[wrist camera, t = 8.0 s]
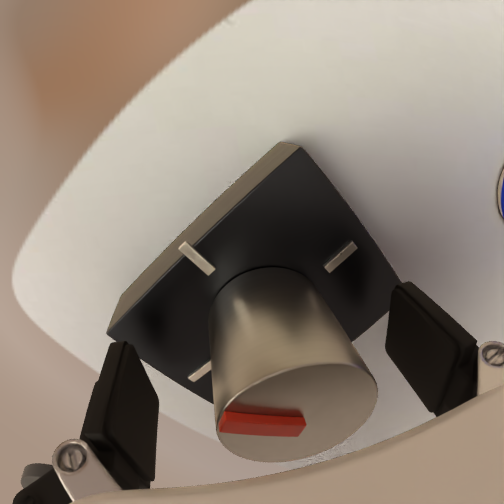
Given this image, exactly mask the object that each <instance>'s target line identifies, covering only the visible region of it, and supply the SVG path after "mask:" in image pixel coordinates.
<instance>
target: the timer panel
mask: <svg viewBox="0 0 504 504" xmlns="http://www.w3.org/2000/svg"><path fill="white" fill-rule="evenodd" d="M268 267H277V268H285V269H290V270H293V271H296V272H298V273H300V274H302V275H303V276H305V277H306V278H308V279H309V280H310V281H311V282H312V283H313V284H314V286H315V287H316V288H317V290H318V291H319V293H320V294H321V296H322V297H323V299H324V300H325V302H326V303H327V305H328V306H329V308H330V309H331V311H332V313H333V314H334V316H335V317H336V319H337V320H338V322H339V323H340V325H341V326H342V328H343V330H344V331H345V333H346V334H347V336H348V337H349V339H350V340H351V342H353V341H354V340H355V339H356V338H358V337H359V336H360V335H361V334H363V333H364V332H365V331H366V330H367V329H368V328H370V327H371V326H372V325H373V324H374V323H375V322H377V321H378V320H379V319H380V318H381V317H382V316H384V315H385V314H386V313H387V312H388V311H389V310H390V301H391V292H392V290H394V288H395V286H396V285H398V284H401V283H402V282H401V281H400V279H399V278H398V276H397V274H396V273H395V271H394V270H393V268H392V267H391V265H390V264H389V262H388V261H387V259H386V258H385V256H384V255H383V253H382V252H381V250H380V249H379V247H378V246H377V244H376V243H375V242H374V240H373V239H372V237H371V236H370V234H369V233H368V232H367V230H366V229H365V227H364V226H363V225H362V223H361V222H360V220H359V219H358V218H357V216H356V215H355V214H354V212H353V211H352V209H351V208H350V207H349V205H348V204H347V203H346V201H345V200H344V199H343V197H342V196H341V195H340V193H339V192H338V191H337V190H336V188H335V187H334V186H333V184H332V183H331V182H330V181H329V179H328V178H327V177H326V175H325V174H324V173H323V172H322V170H321V169H320V168H319V167H318V165H317V164H316V163H315V162H314V161H313V159H312V158H311V157H310V156H309V154H308V153H307V152H306V151H305V150H304V148H303V147H301V146H297V145H293V144H288V143H284V142H279V143H278V144H277V145H276V146H274V147H273V148H272V149H271V150H270V151H269V152H268V153H266V154H265V155H264V156H263V157H262V158H261V159H260V160H259V161H258V162H256V163H255V164H254V165H253V166H252V167H251V168H250V169H249V170H248V171H247V172H245V173H244V174H243V175H242V176H241V177H240V178H239V179H238V180H237V181H236V182H235V183H233V184H232V185H231V186H230V187H229V188H228V189H227V190H226V191H225V192H224V193H223V194H222V195H221V196H220V197H219V198H217V199H216V200H215V201H214V202H213V203H212V204H211V205H210V206H209V207H208V208H207V209H206V210H205V211H204V212H203V213H202V214H201V215H200V216H199V217H198V218H197V219H196V220H195V221H194V222H193V223H191V224H190V225H189V226H188V227H187V228H186V229H185V230H184V231H183V232H182V233H181V234H180V235H179V236H178V237H177V238H176V239H175V240H174V241H173V242H172V243H171V244H170V245H169V246H168V247H167V248H166V249H165V250H164V251H163V252H162V253H161V254H160V255H159V257H158V258H157V259H156V260H155V261H154V262H153V263H152V264H151V265H150V266H149V267H148V268H147V269H146V270H145V271H144V272H143V273H142V274H141V275H140V276H139V277H138V278H137V279H136V280H135V281H134V283H133V284H132V285H131V286H130V287H129V288H128V289H127V290H126V291H125V292H124V293H123V294H122V295H121V297H120V299H119V302H118V304H117V307H116V309H115V312H114V314H113V317H112V319H111V322H110V324H109V327H108V329H107V332H106V334H107V335H108V336H110V337H111V338H112V339H114V340H115V341H116V342H121V341H127V342H128V343H129V345H130V344H132V345H133V346H134V347H135V349H136V352H137V354H138V356H139V358H140V359H142V360H143V361H145V362H146V363H148V364H149V365H150V366H152V367H153V368H155V369H156V370H158V371H160V372H161V373H163V374H164V375H166V376H167V377H169V378H170V379H172V380H174V381H175V382H177V383H178V384H180V385H182V386H183V387H185V388H187V389H188V390H190V391H191V392H193V393H195V394H197V395H198V396H200V397H202V398H203V399H205V400H207V401H209V402H210V403H212V404H214V398H213V385H212V371H211V356H210V340H209V313H210V308H211V306H212V303H213V301H214V300H215V298H216V296H217V295H218V293H219V292H220V291H221V290H222V289H223V288H224V287H225V286H226V285H227V284H228V283H229V282H231V281H232V280H233V279H235V278H236V277H238V276H240V275H242V274H244V273H246V272H249V271H252V270H255V269H260V268H268Z"/></svg>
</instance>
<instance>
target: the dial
mask: <svg viewBox="0 0 504 504" xmlns="http://www.w3.org/2000/svg"><path fill="white" fill-rule="evenodd" d="M209 340H210V356H211V371H212V385H213V398H214V410H215V422H216V431H217V435H218V438H219V440H220V441H221V443H222V444H223V446H225V448H227V449H228V450H229V451H230V452H232V453H233V454H235V455H237V456H239V457H242V458H245V459H249V460H253V461H259V462H286V461H293V460H298V459H302V458H306V457H310V456H313V455H316V454H318V453H321V452H323V451H326V450H328V449H330V448H332V447H334V446H336V445H337V444H339V443H341V442H342V441H344V440H345V439H347V438H348V437H350V436H351V435H352V434H353V433H355V432H356V431H357V430H358V429H359V428H360V427H361V426H362V425H363V424H364V423H365V422H366V420H367V419H368V418H369V416H370V415H371V413H372V411H373V409H374V407H375V405H376V401H377V397H378V388H377V383H376V381H375V379H374V377H373V375H372V374H371V372H370V371H369V369H368V367H367V366H366V364H365V363H364V361H363V359H362V358H361V356H360V355H359V353H358V351H357V350H356V348H355V347H354V345H353V344H352V342H351V340H350V339H349V337H348V336H347V334H346V333H345V331H344V330H343V328H342V326H341V325H340V323H339V322H338V320H337V319H336V317H335V316H334V314H333V313H332V311H331V309H330V308H329V306H328V305H327V303H326V302H325V300H324V299H323V297H322V296H321V294H320V293H319V291H318V290H317V288H316V287H315V286H314V284H313V283H312V282H311V281H310V280H309V279H308V278H306V277H305V276H303V275H302V274H300V273H298V272H296V271H293V270H290V269H285V268H277V267H268V268H260V269H255V270H252V271H249V272H246V273H244V274H242V275H240V276H238V277H236V278H235V279H233V280H232V281H231V282H229V283H228V284H227V285H226V286H225V287H224V288H223V289H222V290H221V291H220V292H219V293H218V295H217V296H216V298H215V300H214V301H213V303H212V306H211V308H210V313H209Z"/></svg>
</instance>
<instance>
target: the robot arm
mask: <svg viewBox="0 0 504 504" xmlns="http://www.w3.org/2000/svg"><path fill="white" fill-rule="evenodd" d="M476 343H477V340H476V339H475V338H474V337H473V336H472V335H470V334H469V333H468V332H467V331H466V330H465V329H464V328H463V327H462V326H461V325H460V324H459V323H458V322H456V321H455V320H454V319H453V318H452V317H451V316H450V315H449V314H448V313H447V312H445V311H444V310H443V309H442V308H441V307H440V306H439V305H438V304H436V303H435V302H434V301H433V300H432V299H431V298H430V297H428V296H427V295H426V294H425V293H424V292H423V291H422V290H420V289H419V288H418V287H417V286H416V285H415V284H413V283H412V282H410V281H408V282H405V283H401V284H398V285H396V286H395V288H394V290H392V292H391V301H390V311H389V320H388V328H387V336H386V343H385V349H386V352H387V354H388V355H389V357H390V358H391V360H392V361H393V362H394V364H395V365H396V366H397V368H398V369H399V370H400V372H401V373H402V374H403V376H404V377H405V379H406V380H407V381H408V383H409V384H410V386H411V387H412V388H413V390H414V391H415V392H416V394H417V395H418V397H419V398H420V399H421V401H422V402H423V404H424V405H425V407H426V408H427V409H428V411H429V412H434V414H435V415H436V418H434V419H432V420H430V421H428V422H426V423H424V424H422V425H420V426H417V427H415V428H413V429H411V430H409V431H406V432H404V433H402V434H399V435H397V436H395V437H392V438H390V439H387V440H385V441H382V442H380V443H377V444H374V445H372V446H369V447H366V448H363V449H361V450H358V451H355V452H352V453H349V454H346V455H343V456H340V457H337V458H334V459H330V460H327V461H323V462H320V463H316V464H313V465H309V466H305V467H301V468H297V469H293V470H289V471H285V472H280V473H276V474H271V475H266V476H261V477H256V478H250V479H245V480H238V481H232V482H225V483H217V484H209V485H199V486H188V487H176V488H157V489H150V481H154V479H155V460H156V442H157V426H158V425H157V424H158V412H159V399H158V396H157V394H156V392H155V390H154V388H153V386H152V384H151V382H150V380H149V378H148V375H147V373H146V371H145V369H144V367H143V365H142V363H141V361H140V358H139V356H138V354H137V352H136V349H135V347H134V346H133V345H132V344H130V345H129V343H128V342H127V341H121V342H113V343H111V344H110V346H109V349H108V352H107V355H106V358H105V361H104V364H103V367H102V370H101V374H100V377H99V380H98V381H97V382H96V383H95V385H94V389H93V392H92V395H91V399H90V402H89V406H88V409H87V413H86V417H85V420H84V424H83V427H82V431H81V435H80V439H70V440H67V441H65V442H63V443H61V444H60V445H59V446H58V447H57V448H56V450H55V451H54V454H53V456H52V464H53V467H54V468H53V469H51V470H50V471H49V472H47V473H46V474H44V475H43V476H41V477H40V478H39V479H37V480H36V481H34V482H33V483H31V484H30V485H28V486H27V487H25V488H24V489H23V490H21V491H20V492H19V493H18V494H17V495H16V496H15V498H14V500H13V504H504V344H503V343H501V342H497V341H489V342H485V343H484V344H482V345H481V346H480V348H479V347H478V346H477V345H476Z"/></svg>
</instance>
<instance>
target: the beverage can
mask: <svg viewBox="0 0 504 504" xmlns="http://www.w3.org/2000/svg"><path fill="white" fill-rule="evenodd" d="M498 205H499V209H500V212H501V214H502V216H503V218H504V169H503V171H502V174H501V177H500V180H499V186H498Z"/></svg>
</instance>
